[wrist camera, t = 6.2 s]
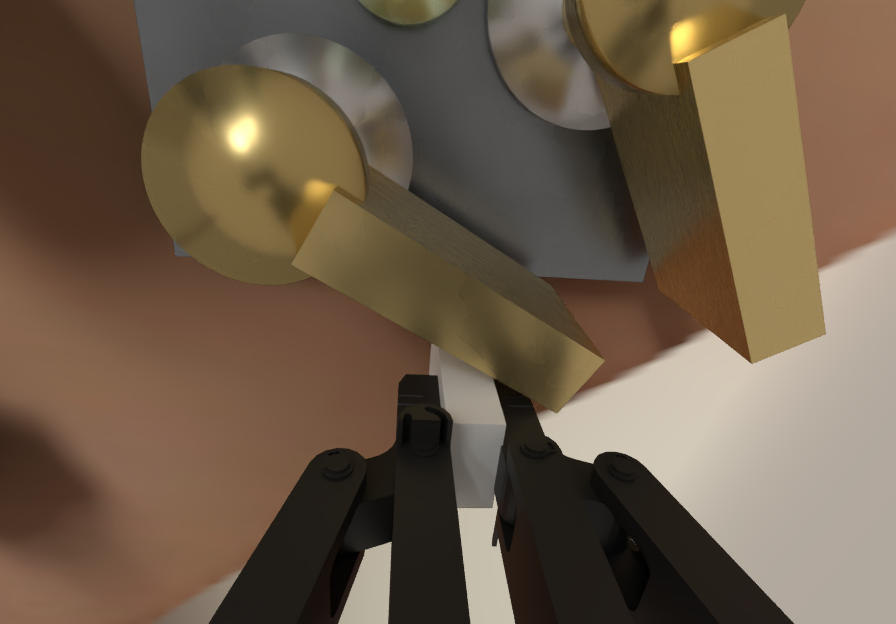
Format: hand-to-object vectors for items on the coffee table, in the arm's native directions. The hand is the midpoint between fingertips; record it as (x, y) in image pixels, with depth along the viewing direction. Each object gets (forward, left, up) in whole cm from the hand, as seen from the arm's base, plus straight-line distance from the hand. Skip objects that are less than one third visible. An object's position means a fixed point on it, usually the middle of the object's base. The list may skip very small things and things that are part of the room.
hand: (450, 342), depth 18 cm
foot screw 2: (-8, +6, -1) cm, 10 cm away
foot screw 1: (-4, -2, -1) cm, 5 cm away
